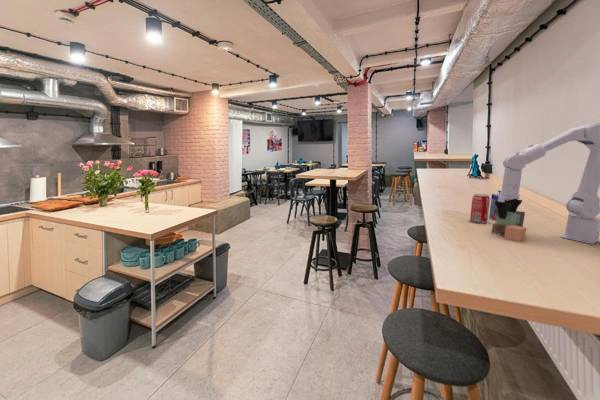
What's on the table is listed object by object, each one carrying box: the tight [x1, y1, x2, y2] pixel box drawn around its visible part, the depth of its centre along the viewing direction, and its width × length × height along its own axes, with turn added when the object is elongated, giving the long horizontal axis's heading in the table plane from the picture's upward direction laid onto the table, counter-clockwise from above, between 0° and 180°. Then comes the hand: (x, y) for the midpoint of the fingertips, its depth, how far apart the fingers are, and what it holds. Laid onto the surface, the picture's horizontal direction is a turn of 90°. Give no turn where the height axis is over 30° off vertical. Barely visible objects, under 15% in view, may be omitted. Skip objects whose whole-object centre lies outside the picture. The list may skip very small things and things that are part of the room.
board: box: [515, 210, 526, 227], centre depth 129 cm, size 5×8×8 cm, turn 51°
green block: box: [496, 212, 517, 226], centre depth 121 cm, size 5×5×5 cm
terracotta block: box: [503, 225, 527, 243], centre depth 113 cm, size 5×5×5 cm
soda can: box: [470, 193, 491, 224], centre depth 138 cm, size 7×7×13 cm
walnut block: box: [491, 221, 517, 236], centre depth 122 cm, size 7×7×4 cm
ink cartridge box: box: [488, 190, 502, 222], centre depth 141 cm, size 10×6×14 cm, turn 174°
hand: (506, 217), depth 121 cm, fingers open, 7 cm apart
